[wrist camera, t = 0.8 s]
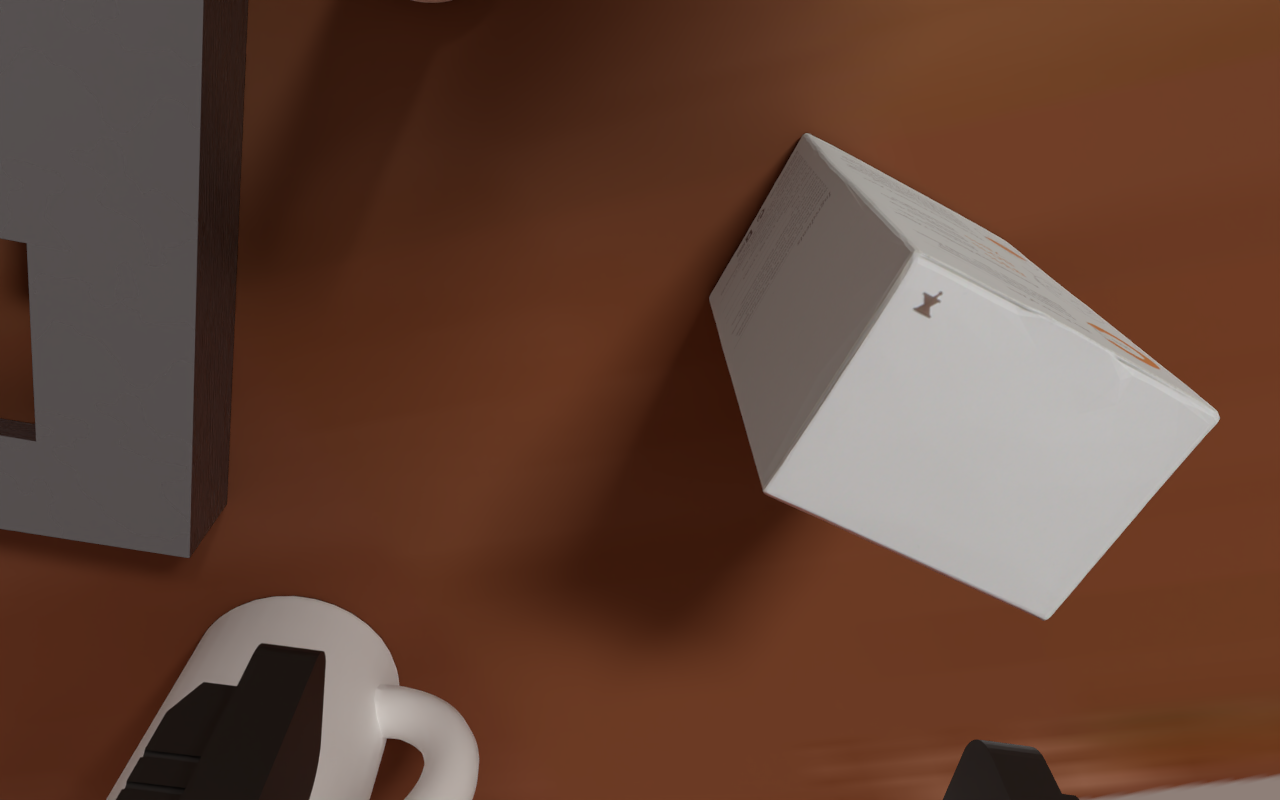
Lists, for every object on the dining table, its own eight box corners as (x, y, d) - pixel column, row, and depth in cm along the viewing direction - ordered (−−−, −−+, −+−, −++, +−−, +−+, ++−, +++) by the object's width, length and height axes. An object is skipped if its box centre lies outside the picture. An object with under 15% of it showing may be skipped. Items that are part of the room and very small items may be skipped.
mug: (514, 738, 41) (477, 1024, 30) (230, 765, 42) (93, 1058, 31) (479, 573, 38) (424, 829, 27) (170, 604, 38) (-8, 870, 27)
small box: (704, 298, 34) (752, 494, 22) (802, 126, 31) (917, 241, 19) (904, 398, 35) (1051, 630, 23) (1012, 242, 33) (1234, 412, 21)
